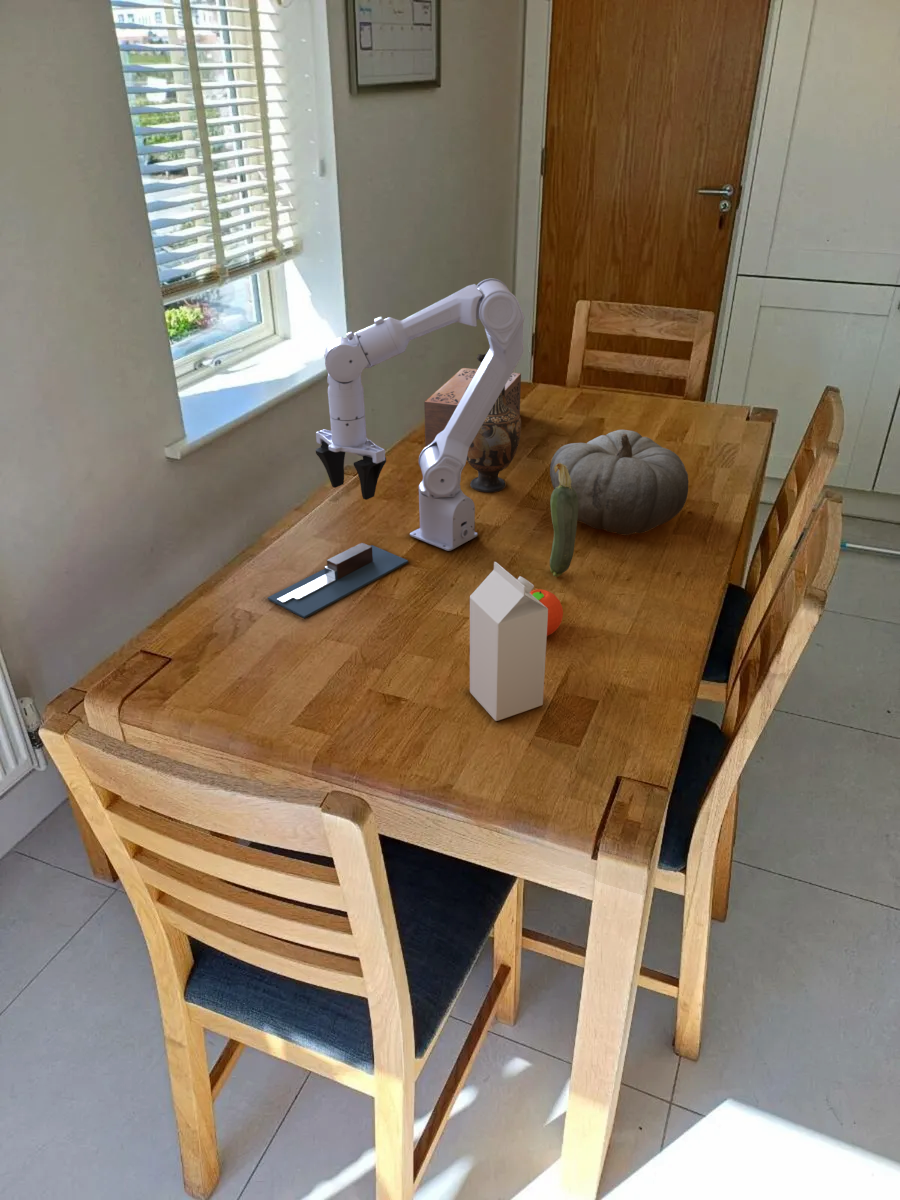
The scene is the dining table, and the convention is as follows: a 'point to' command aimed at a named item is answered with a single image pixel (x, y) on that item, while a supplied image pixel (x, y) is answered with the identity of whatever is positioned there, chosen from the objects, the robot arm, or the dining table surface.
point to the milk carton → (507, 645)
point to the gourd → (623, 481)
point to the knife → (334, 571)
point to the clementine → (550, 608)
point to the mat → (339, 584)
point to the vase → (494, 444)
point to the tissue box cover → (450, 395)
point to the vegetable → (563, 521)
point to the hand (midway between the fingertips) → (353, 491)
